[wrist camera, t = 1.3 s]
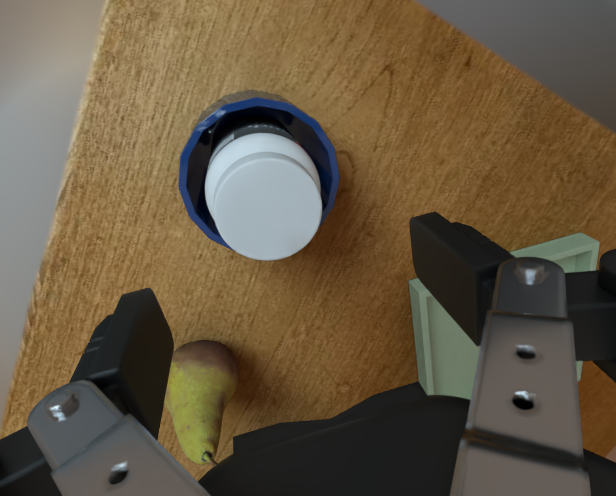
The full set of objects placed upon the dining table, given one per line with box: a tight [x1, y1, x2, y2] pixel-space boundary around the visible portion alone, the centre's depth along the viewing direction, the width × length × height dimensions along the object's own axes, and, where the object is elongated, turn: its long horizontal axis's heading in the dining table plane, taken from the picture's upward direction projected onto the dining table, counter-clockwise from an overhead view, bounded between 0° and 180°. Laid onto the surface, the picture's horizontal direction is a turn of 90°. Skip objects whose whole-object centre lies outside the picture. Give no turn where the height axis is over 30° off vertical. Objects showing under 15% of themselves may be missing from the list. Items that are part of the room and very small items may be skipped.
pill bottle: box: [205, 116, 322, 261], centre depth 22 cm, size 6×6×10 cm
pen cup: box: [179, 90, 340, 251], centre depth 24 cm, size 8×8×6 cm
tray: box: [409, 233, 600, 400], centre depth 36 cm, size 15×15×2 cm
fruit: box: [164, 340, 240, 467], centre depth 27 cm, size 6×6×12 cm
